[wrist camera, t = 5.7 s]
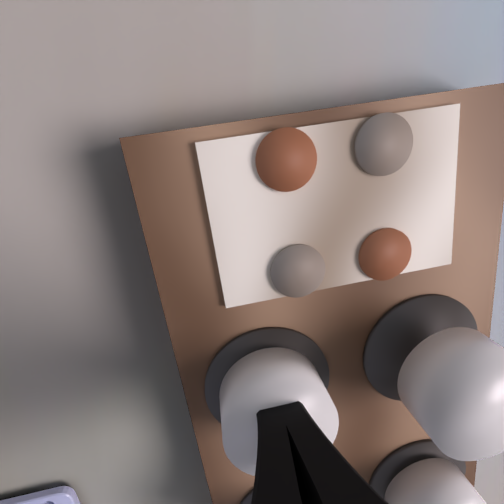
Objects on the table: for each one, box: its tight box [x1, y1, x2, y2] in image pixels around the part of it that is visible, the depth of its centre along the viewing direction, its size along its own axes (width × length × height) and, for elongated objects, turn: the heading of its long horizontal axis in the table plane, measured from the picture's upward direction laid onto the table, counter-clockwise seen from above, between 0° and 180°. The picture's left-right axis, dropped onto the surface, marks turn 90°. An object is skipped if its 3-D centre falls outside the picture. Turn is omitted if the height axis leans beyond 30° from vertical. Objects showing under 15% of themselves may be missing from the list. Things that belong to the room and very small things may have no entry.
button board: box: [119, 83, 504, 504], centre depth 13 cm, size 12×19×2 cm, turn 8°
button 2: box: [397, 327, 504, 461], centre depth 10 cm, size 4×4×2 cm
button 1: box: [219, 347, 339, 476], centre depth 11 cm, size 4×4×2 cm
